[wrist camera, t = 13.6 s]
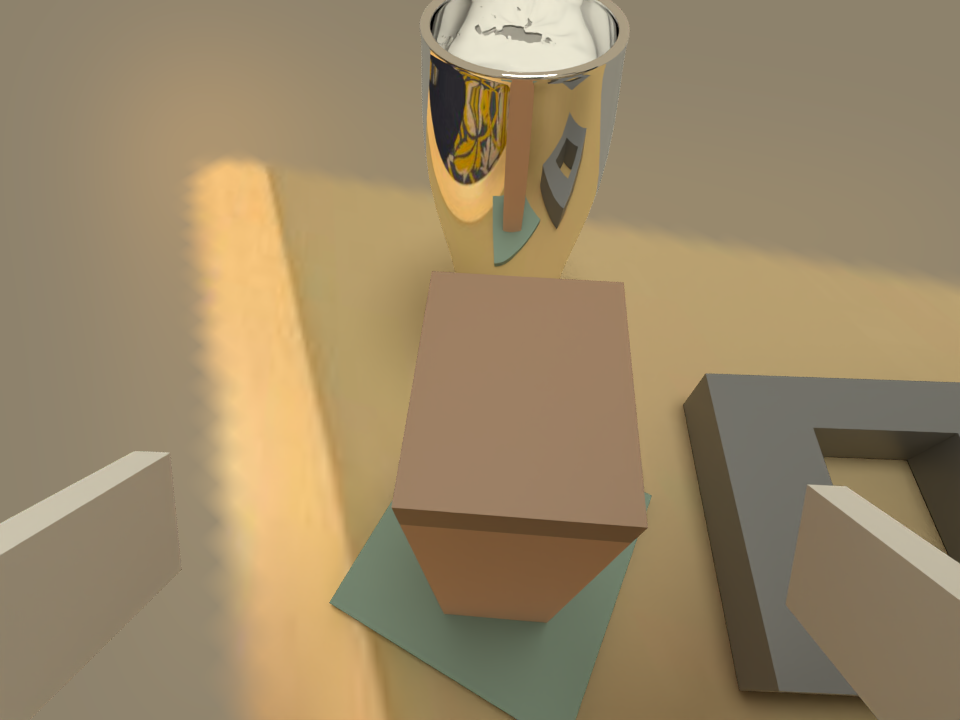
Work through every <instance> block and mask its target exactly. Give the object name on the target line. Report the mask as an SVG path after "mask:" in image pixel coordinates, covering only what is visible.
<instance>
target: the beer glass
mask: <svg viewBox="0 0 960 720" xmlns="http://www.w3.org/2000/svg"><path fill="white" fill-rule="evenodd" d="M420 33H421V50H422V115H423V130H424V145H425V153H426V160H427V167H428V175H429V181H430V185H431V189H432V194H433V198H434V202H435V206H436V210H437V213H438V216H439V220H440V223H441V226H442V230H443V233H444V236H445V239H446V242H447V245H448V248H449V251H450V255H451V258H452V262H453V266H454V273H470V274H487V275H504V276H521V277H539V278H556V279H560V277H561V274H562V271H563V269H564V266H565V264H566V262H567V260H568V257H569V255H570V253H571V251H572V249H573V247H574V245H575V243H576V241H577V239H578V236H579V234H580V232H581V230H582V228H583V225H584V223H585V221H586V219H587V217H588V214H589V212H590V209H591V207H592V204H593V201H594V199H595V196H596V194H597V191H598V188H599V185H600V181H601V178H602V174H603V171H604V167H605V163H606V160H607V156H608V151H609V146H610V142H611V137H612V132H613V127H614V123H615V117H616V110H617V104H618V98H619V91H620V84H621V77H622V69H623V63H624V56H625V51H626V45H627V42H628V39H629V34H630V28H629V23H628V20H627V18H626V16H625V14H624V13H623V12H622V10H621V9H620V8H619V7H618V6H617V5H616V4H615V3H614V2H612V1H611V0H433V1H432V2H431V3H430V4H429V5H428V6H427V7H426V9H425V10H424V12H423V14H422V16H421V20H420Z"/></svg>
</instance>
